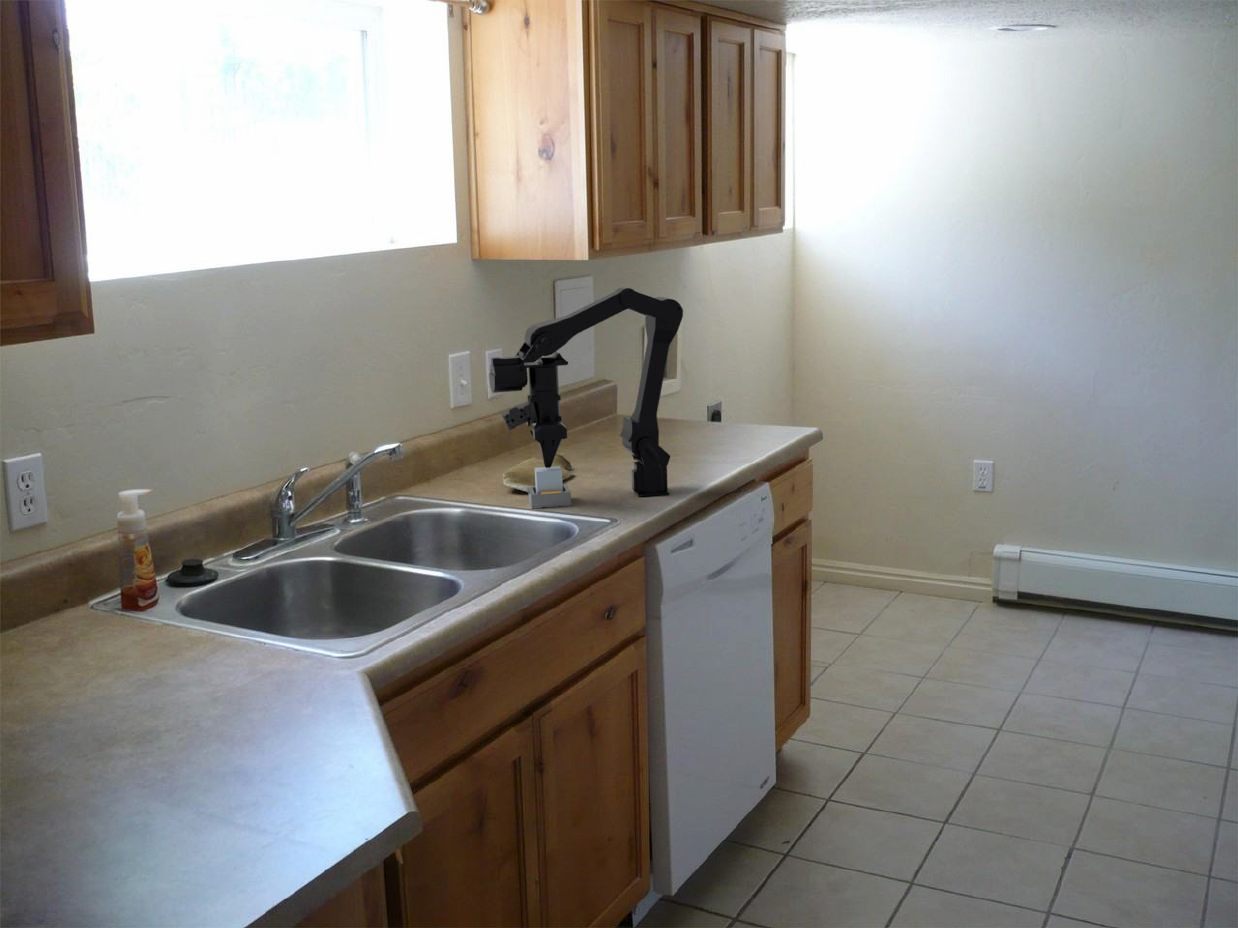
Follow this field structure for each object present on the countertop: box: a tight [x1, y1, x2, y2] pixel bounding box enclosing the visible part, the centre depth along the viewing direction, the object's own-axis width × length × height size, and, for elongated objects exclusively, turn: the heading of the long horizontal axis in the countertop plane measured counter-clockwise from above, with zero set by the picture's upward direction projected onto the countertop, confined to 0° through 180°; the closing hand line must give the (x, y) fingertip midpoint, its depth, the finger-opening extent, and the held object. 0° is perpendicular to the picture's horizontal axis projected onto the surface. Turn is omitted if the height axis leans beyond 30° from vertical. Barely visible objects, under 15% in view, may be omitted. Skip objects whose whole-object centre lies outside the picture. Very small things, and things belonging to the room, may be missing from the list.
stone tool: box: [502, 453, 573, 493], centre depth 261 cm, size 12×4×25 cm
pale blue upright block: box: [535, 466, 564, 493], centre depth 241 cm, size 5×4×6 cm
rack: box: [527, 483, 572, 509], centre depth 241 cm, size 8×7×3 cm
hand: (547, 467), depth 240 cm, fingers closed
